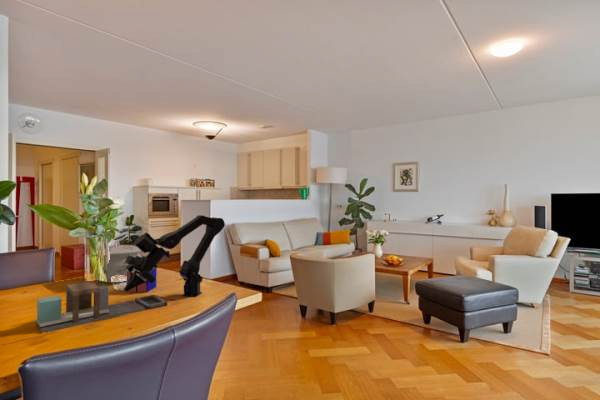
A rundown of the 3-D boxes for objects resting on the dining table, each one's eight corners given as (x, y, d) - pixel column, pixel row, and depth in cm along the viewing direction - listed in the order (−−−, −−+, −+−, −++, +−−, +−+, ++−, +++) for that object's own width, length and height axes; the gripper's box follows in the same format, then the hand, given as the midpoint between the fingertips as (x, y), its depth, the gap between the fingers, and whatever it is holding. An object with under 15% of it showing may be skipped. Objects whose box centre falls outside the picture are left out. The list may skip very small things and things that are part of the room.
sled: (103, 307, 132) (103, 284, 132) (109, 312, 127) (109, 288, 127) (36, 321, 117) (37, 295, 117) (40, 326, 112) (40, 299, 112)
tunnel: (90, 309, 131) (90, 281, 131) (99, 317, 123) (99, 287, 123) (66, 314, 125) (66, 285, 125) (73, 322, 117) (73, 291, 117)
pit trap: (153, 298, 150) (153, 294, 150) (167, 305, 140) (167, 301, 140) (135, 301, 144) (135, 298, 144) (147, 309, 134) (147, 306, 134)
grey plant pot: (131, 272, 200) (131, 237, 199) (154, 279, 182) (154, 242, 182) (77, 280, 178) (78, 242, 178) (97, 290, 160) (97, 247, 160)
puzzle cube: (147, 292, 158) (147, 271, 158) (126, 292, 158) (126, 271, 158) (156, 287, 168) (156, 267, 168) (137, 286, 168) (137, 267, 168)
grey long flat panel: (132, 302, 143) (132, 300, 143) (144, 310, 134) (144, 307, 134) (35, 322, 119) (35, 319, 119) (41, 333, 110) (41, 330, 110)
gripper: (130, 245, 144) (101, 275, 137) (146, 250, 131) (116, 284, 124) (148, 260, 150) (122, 290, 142) (166, 267, 137) (139, 300, 129)
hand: (124, 290), depth 134 cm, fingers closed
